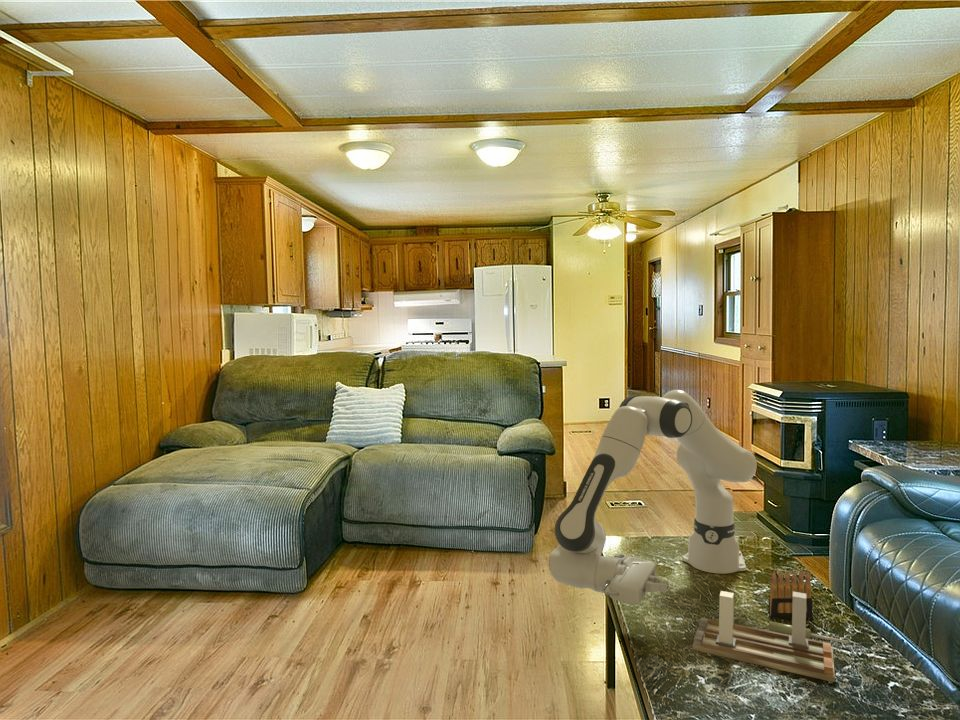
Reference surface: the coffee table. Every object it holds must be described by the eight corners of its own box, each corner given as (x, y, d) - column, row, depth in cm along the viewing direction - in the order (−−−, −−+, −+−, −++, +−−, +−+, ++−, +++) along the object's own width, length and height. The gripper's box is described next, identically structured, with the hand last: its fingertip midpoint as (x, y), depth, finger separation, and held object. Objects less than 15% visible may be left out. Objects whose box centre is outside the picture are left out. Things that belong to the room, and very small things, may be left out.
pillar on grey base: (788, 639, 146) (790, 590, 145) (808, 643, 144) (809, 593, 143) (788, 646, 143) (789, 596, 142) (808, 650, 141) (809, 599, 140)
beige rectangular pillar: (717, 638, 147) (718, 589, 146) (735, 642, 145) (736, 592, 144) (715, 645, 144) (716, 595, 143) (734, 649, 142) (735, 599, 141)
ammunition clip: (771, 617, 160) (771, 572, 159) (767, 614, 162) (768, 569, 161) (812, 617, 160) (813, 572, 159) (809, 614, 162) (810, 569, 161)
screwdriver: (768, 634, 152) (769, 624, 152) (769, 629, 154) (769, 619, 154) (849, 650, 144) (849, 639, 144) (848, 645, 147) (848, 634, 146)
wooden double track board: (700, 625, 156) (700, 615, 156) (832, 652, 143) (832, 642, 143) (692, 649, 145) (692, 639, 145) (834, 682, 132) (835, 671, 131)
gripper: (599, 578, 146) (658, 590, 140) (622, 550, 165) (675, 560, 158) (599, 604, 147) (658, 617, 140) (621, 574, 165) (675, 584, 158)
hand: (667, 586), depth 149 cm, fingers closed
